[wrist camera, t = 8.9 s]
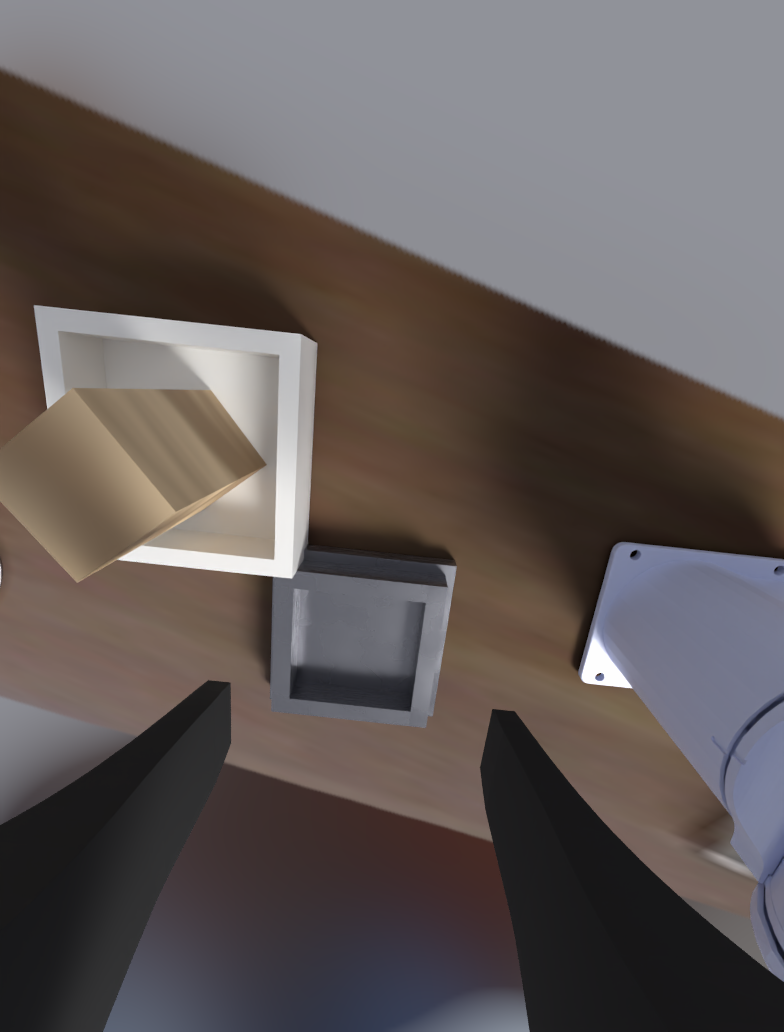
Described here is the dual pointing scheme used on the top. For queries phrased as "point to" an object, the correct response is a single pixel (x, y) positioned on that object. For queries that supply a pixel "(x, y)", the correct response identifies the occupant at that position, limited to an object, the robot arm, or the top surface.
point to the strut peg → (120, 470)
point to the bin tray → (246, 397)
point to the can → (1, 572)
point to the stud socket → (360, 635)
